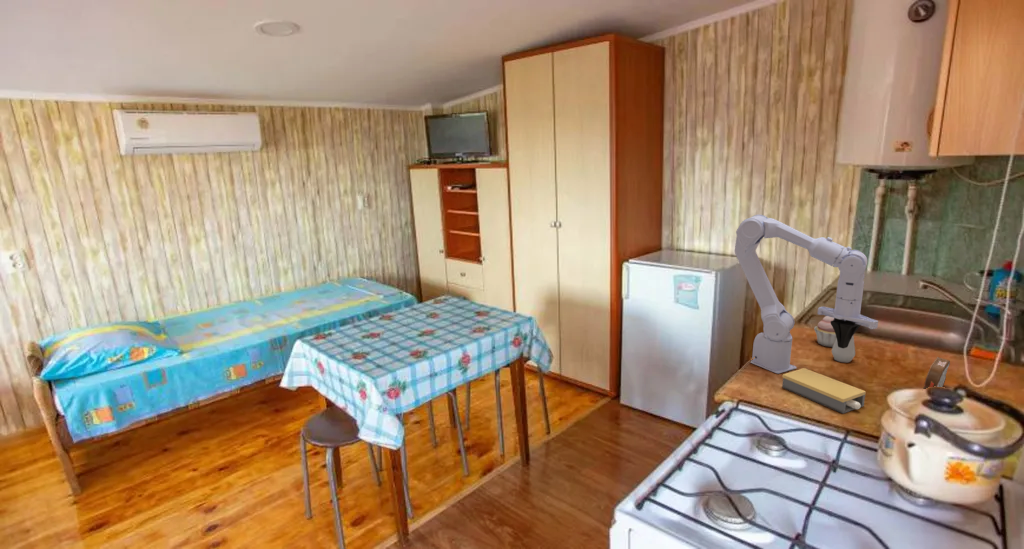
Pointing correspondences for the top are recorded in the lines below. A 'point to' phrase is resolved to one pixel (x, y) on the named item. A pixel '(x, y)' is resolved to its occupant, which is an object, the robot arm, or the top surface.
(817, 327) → the cupcake
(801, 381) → the duct cover
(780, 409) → the top surface
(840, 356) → the salt shaker
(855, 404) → the cable duct
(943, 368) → the tin
